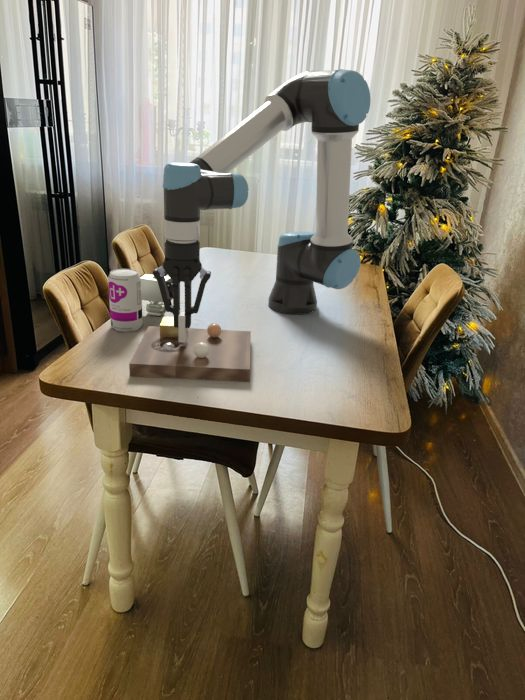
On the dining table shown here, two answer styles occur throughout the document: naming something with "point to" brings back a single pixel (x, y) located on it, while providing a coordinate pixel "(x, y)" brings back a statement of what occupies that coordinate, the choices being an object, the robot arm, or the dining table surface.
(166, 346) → the steel ball
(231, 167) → the robot arm
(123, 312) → the supplement can
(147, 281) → the pneumatic valve
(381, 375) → the dining table surface
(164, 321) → the block
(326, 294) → the dining table surface
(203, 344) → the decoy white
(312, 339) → the dining table surface
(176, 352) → the board
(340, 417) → the dining table surface
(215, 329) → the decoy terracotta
